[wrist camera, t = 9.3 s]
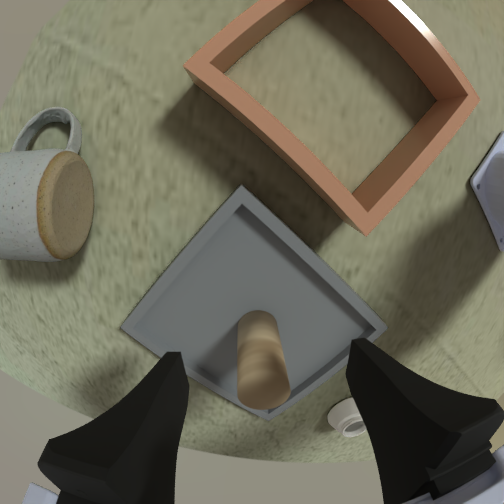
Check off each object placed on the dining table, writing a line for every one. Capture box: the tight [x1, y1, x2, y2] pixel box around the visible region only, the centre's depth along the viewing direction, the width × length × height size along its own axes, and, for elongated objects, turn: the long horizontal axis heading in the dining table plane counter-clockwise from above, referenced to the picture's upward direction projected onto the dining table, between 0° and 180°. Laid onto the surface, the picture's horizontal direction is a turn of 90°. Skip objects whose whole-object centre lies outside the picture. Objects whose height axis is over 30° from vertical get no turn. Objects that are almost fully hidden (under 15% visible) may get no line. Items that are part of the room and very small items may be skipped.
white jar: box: [327, 397, 367, 437], centre depth 25 cm, size 5×3×5 cm
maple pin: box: [237, 310, 291, 410], centre depth 18 cm, size 3×3×7 cm
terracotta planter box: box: [183, 0, 480, 236], centre depth 15 cm, size 14×14×4 cm
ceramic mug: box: [0, 107, 94, 262], centre depth 14 cm, size 11×8×8 cm
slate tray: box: [120, 183, 388, 421], centre depth 21 cm, size 16×14×2 cm
